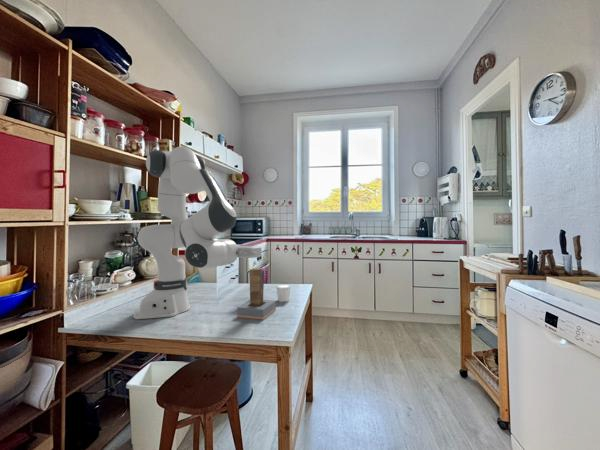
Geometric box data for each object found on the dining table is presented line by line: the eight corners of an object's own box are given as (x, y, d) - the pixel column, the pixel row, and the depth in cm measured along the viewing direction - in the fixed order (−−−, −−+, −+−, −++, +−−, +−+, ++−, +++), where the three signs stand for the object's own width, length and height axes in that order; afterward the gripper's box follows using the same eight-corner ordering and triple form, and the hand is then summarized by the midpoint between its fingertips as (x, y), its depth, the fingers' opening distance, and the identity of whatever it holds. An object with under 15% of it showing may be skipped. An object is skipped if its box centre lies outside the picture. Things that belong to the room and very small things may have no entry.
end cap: (263, 319, 105) (263, 309, 105) (237, 316, 109) (237, 307, 109) (275, 309, 117) (275, 300, 117) (251, 307, 121) (251, 298, 120)
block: (259, 312, 110) (257, 270, 110) (250, 312, 112) (249, 269, 111) (263, 309, 114) (262, 268, 114) (255, 309, 115) (253, 267, 115)
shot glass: (276, 298, 134) (276, 284, 134) (290, 297, 135) (289, 284, 134) (276, 302, 127) (276, 288, 127) (290, 301, 128) (290, 287, 128)
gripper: (253, 244, 88) (268, 242, 101) (199, 241, 93) (220, 240, 106) (252, 263, 88) (267, 259, 101) (198, 259, 93) (219, 256, 106)
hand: (243, 249), depth 104 cm, fingers open, 8 cm apart
